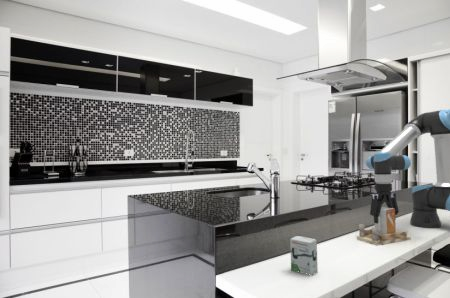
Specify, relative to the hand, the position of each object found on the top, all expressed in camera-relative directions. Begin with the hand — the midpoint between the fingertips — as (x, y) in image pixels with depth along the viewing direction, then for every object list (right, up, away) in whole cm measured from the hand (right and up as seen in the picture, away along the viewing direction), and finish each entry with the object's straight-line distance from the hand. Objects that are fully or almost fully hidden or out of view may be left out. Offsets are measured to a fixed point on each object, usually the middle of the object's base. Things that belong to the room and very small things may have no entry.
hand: (385, 228), depth 152 cm
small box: (0, -3, 0) cm, 3 cm away
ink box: (-50, -6, -39) cm, 64 cm away
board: (-1, -5, -1) cm, 5 cm away
